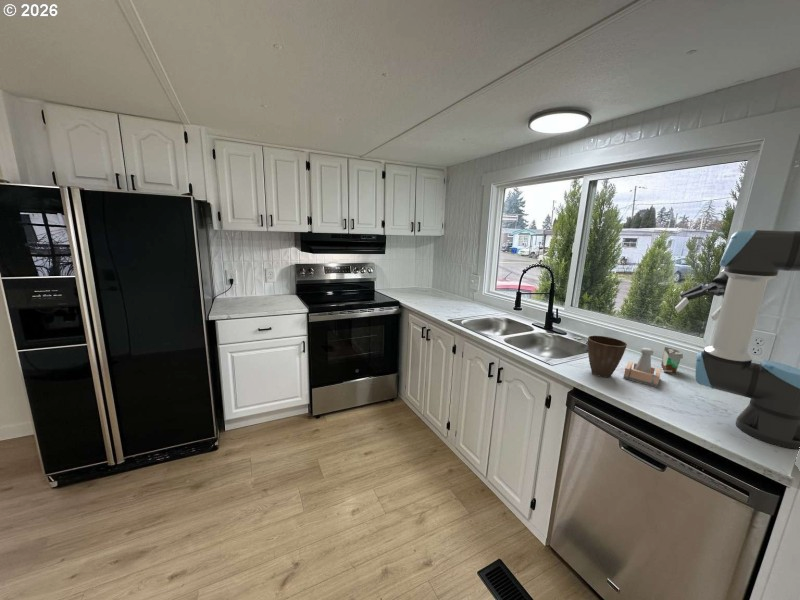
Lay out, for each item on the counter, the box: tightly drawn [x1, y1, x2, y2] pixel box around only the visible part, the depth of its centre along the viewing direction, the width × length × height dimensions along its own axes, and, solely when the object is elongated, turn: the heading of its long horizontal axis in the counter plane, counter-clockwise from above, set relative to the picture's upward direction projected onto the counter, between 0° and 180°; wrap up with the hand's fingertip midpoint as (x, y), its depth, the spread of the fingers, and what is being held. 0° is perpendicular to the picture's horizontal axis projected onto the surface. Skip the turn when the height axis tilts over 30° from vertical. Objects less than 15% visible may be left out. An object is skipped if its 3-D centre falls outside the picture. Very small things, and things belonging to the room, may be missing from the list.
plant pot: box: [587, 335, 628, 378], centre depth 144 cm, size 15×15×16 cm
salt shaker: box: [635, 347, 654, 374], centre depth 141 cm, size 6×6×13 cm
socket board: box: [623, 361, 662, 388], centre depth 143 cm, size 12×12×5 cm
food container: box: [660, 346, 684, 374], centre depth 152 cm, size 12×6×10 cm, turn 148°
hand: (693, 313), depth 132 cm, fingers open, 13 cm apart
